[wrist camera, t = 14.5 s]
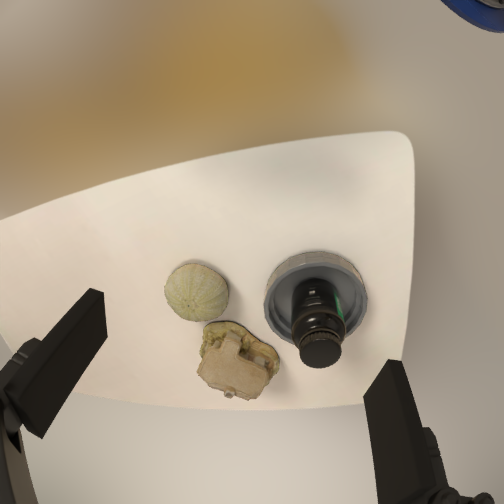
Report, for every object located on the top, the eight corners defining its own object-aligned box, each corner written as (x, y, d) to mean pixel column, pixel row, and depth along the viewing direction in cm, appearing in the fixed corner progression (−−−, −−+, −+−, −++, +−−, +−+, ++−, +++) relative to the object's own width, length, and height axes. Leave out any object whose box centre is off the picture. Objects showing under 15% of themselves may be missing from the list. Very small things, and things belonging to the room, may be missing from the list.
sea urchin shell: (231, 325, 46) (184, 342, 41) (203, 298, 51) (160, 311, 47) (237, 273, 42) (184, 287, 37) (206, 249, 47) (158, 259, 43)
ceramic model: (190, 354, 53) (174, 396, 44) (212, 311, 48) (196, 355, 39) (262, 383, 54) (256, 427, 45) (292, 345, 49) (291, 392, 40)
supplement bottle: (340, 276, 42) (354, 330, 32) (336, 315, 45) (346, 373, 34) (291, 276, 43) (291, 331, 32) (290, 316, 46) (289, 374, 35)
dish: (300, 231, 41) (301, 242, 38) (381, 280, 43) (387, 293, 39) (248, 307, 47) (245, 321, 44) (324, 345, 49) (326, 359, 45)
